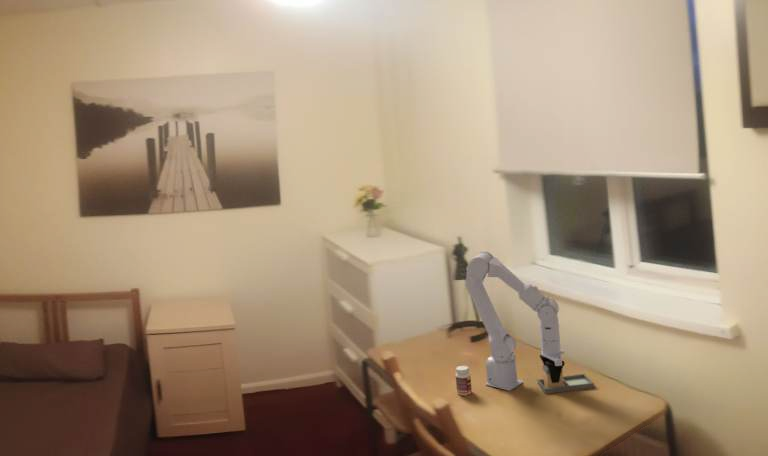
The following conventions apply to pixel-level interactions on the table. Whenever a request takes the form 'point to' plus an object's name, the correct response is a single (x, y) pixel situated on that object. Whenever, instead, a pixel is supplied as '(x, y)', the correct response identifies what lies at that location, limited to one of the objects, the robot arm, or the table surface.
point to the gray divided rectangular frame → (569, 384)
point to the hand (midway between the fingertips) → (553, 379)
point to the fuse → (548, 381)
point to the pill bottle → (463, 380)
